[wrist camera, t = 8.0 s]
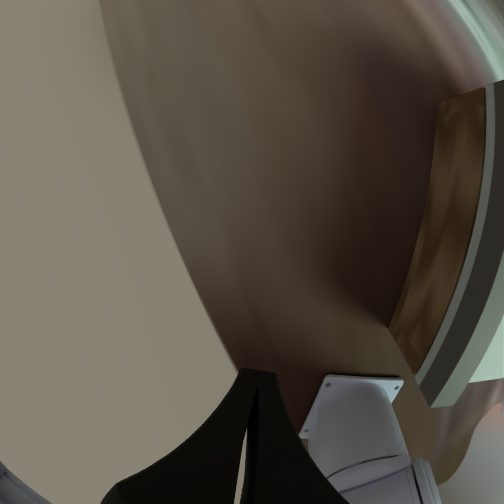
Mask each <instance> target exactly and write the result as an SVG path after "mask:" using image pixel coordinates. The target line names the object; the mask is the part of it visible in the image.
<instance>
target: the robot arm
mask: <svg viewBox="0 0 504 504" xmlns="http://www.w3.org/2000/svg"><path fill="white" fill-rule="evenodd" d="M327 383H330V384H327ZM403 383H404V381H403V379H402V378H382V377H360V376H345V375H333V374H330V375H327V376H325V378H324V380H323V382H322V385H321V387H320V389H319V392H318V394H317V396H316V399H315V401H314V403H313V405H312V408H311V410H310V412H309V414H308V416H307V418H306V420H305V423H304V425H303V427H302V429H301V431H300V433H299V435H298V433H297V431H296V429H295V427H294V425H293V422H292V420H291V418H290V415H289V413H288V410H287V408H286V405H285V402H284V399H283V396H282V393H281V389H280V385H279V381H278V376H277V374H276V373H272V372H265V371H259V370H253V369H247V368H242V369H240V370H239V373H238V375H237V378H236V380H235V382H234V383H233V386H232V387H231V388H230V390H229V392H228V393H227V395H226V396H225V397H224V399H223V400H222V402H221V403H220V404H219V406H218V407H217V408H216V409H215V411H214V412H213V413H212V414H211V415H210V417H209V418H208V419H207V420H206V421H205V422H204V423H203V424H202V425H201V426H200V427H199V429H197V430H196V431H195V432H194V433H193V434H192V435H191V436H190V437H189V438H188V439H187V440H185V441H184V442H183V443H182V444H181V445H179V446H178V447H177V448H176V449H174V450H173V451H172V452H170V453H169V454H168V455H166V456H165V457H163V458H162V459H160V460H159V461H157V462H155V463H154V464H152V465H151V466H149V467H147V468H146V469H144V470H142V471H140V472H138V473H136V474H134V475H132V476H130V477H128V478H126V479H124V480H122V481H120V482H118V483H116V484H115V485H114V486H113V487H112V488H111V490H110V491H109V492H108V493H107V494H106V496H105V497H104V498H103V500H102V502H101V504H234V499H235V492H236V485H237V478H238V472H239V465H240V459H241V452H242V446H243V440H244V436H245V433H246V430H247V442H246V459H245V474H244V483H243V488H242V494H241V499H240V504H442V503H441V500H440V496H439V493H438V490H437V486H436V483H435V480H434V477H433V474H432V471H431V468H430V465H429V462H428V461H425V460H422V459H420V458H419V459H417V460H415V461H413V463H412V461H411V459H410V457H409V455H408V451H407V448H406V445H405V442H404V439H403V436H402V433H401V430H400V427H399V424H398V421H397V418H396V416H395V413H394V410H393V407H392V405H391V403H392V401H393V400H394V398H395V397H396V395H397V393H398V392H399V390H400V388H401V387H402V385H403ZM396 386H397V387H396ZM300 437H301V438H308V449H309V453H308V451H307V450H306V448H305V446H304V444H303V443H302V441H301V439H300ZM0 504H52V503H50V502H49V501H47V500H46V499H44V498H43V497H41V496H40V495H39V494H38V493H36V492H35V491H34V490H32V489H31V488H30V487H28V486H27V485H26V484H25V483H23V482H22V481H21V480H20V479H18V478H17V477H16V476H15V475H14V474H13V473H11V472H10V471H9V470H8V469H7V468H6V467H5V465H4V464H3V463H2V462H1V461H0Z"/></svg>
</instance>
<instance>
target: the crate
mask: <svg viewBox="0 0 504 504" xmlns="http://www.w3.org/2000/svg"><path fill="white" fill-rule="evenodd" d="M486 122H487V113H486V89H485V88H484V87H482V88H479V89H476V90H474V91H471V92H468V93H465V94H462V95H460V96H457V97H454V98H451V99H449V100H446V101H444V102H441V103H438V104H437V114H436V130H435V142H434V151H433V160H432V167H431V174H430V181H429V187H428V193H427V198H426V203H425V208H424V213H423V218H422V222H421V227H420V231H419V235H418V239H417V243H416V247H415V250H414V254H413V257H412V261H411V264H410V268H409V271H408V274H407V277H406V281H405V284H404V287H403V290H402V293H401V296H400V298H399V301H398V304H397V307H396V310H395V312H394V315H393V318H392V320H391V323H390V325H389V328H388V329H389V331H390V333H391V335H392V336H393V338H394V340H395V341H396V343H397V345H398V347H399V349H400V350H401V352H402V354H403V356H404V357H405V359H406V361H407V363H408V365H409V367H410V369H411V370H412V372H413V374H414V375H417V374H418V372H419V370H420V368H421V366H422V364H423V363H424V361H425V359H426V357H427V355H428V353H429V351H430V349H431V347H432V345H433V343H434V341H435V339H436V336H437V334H438V332H439V330H440V328H441V325H442V323H443V321H444V318H445V316H446V314H447V311H448V309H449V306H450V304H451V301H452V298H453V296H454V293H455V290H456V287H457V285H458V282H459V279H460V276H461V273H462V270H463V266H464V263H465V260H466V256H467V253H468V249H469V245H470V242H471V238H472V233H473V229H474V225H475V220H476V215H477V210H478V205H479V199H480V193H481V187H482V179H483V171H484V161H485V149H486Z"/></svg>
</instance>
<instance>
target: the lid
mask: <svg viewBox="0 0 504 504" xmlns="http://www.w3.org/2000/svg"><path fill="white" fill-rule="evenodd" d="M485 88H486V113H487V122H486V149H485V161H484V171H483V179H482V187H481V193H480V199H479V205H478V210H477V215H476V220H475V225H474V229H473V233H472V238H471V242H470V245H469V249H468V253H467V256H466V260H465V263H464V266H463V270H462V273H461V276H460V279H459V282H458V285H457V287H456V290H455V293H454V296H453V298H452V301H451V304H450V306H449V309H448V311H447V314H446V316H445V318H444V321H443V323H442V325H441V328H440V330H439V332H438V334H437V336H436V339H435V341H434V343H433V345H432V347H431V349H430V351H429V353H428V355H427V357H426V359H425V361H424V363H423V364H422V366H421V368H420V370H419V372H418V374H417V375H416V377H415V379H416V381H417V383H418V385H419V387H420V389H421V391H422V393H423V395H424V397H425V399H426V401H427V403H428V405H429V407H430V408H433V407H442V406H450V405H454V403H455V402H456V400H457V399H458V397H459V396H460V395H461V393H462V392H463V390H464V388H465V387H466V385H467V384H468V383H470V382H478V381H485V380H492V379H498V378H504V80H501V81H498V82H495V83H492V84H489V85H486V86H485Z"/></svg>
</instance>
